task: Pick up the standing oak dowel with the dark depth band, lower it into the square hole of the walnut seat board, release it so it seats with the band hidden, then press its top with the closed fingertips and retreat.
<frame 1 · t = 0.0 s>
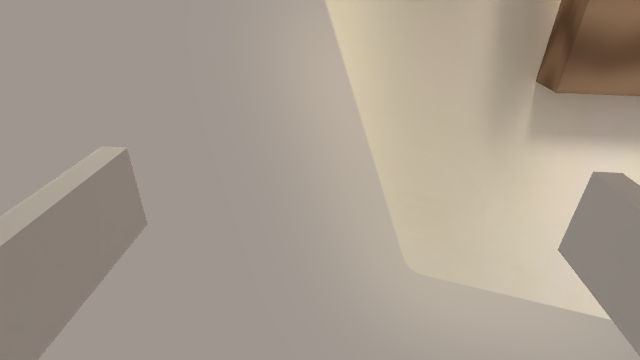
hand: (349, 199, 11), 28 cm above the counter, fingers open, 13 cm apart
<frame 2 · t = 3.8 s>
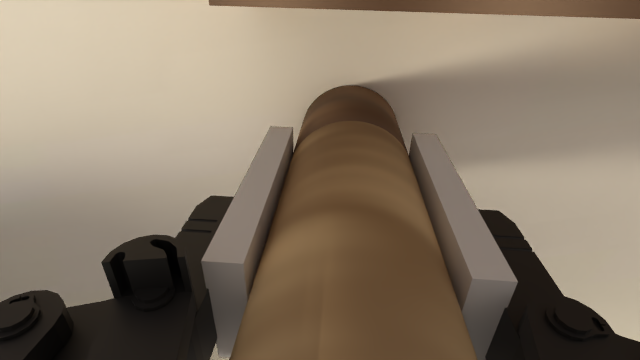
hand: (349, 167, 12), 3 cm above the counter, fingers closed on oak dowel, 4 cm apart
oak dowel: (349, 132, 15), on the counter, touching gripper
when the fingers open (5 cm above the counter, at t = 8.4 s): oak dowel drops 2 cm, resting in seat board.
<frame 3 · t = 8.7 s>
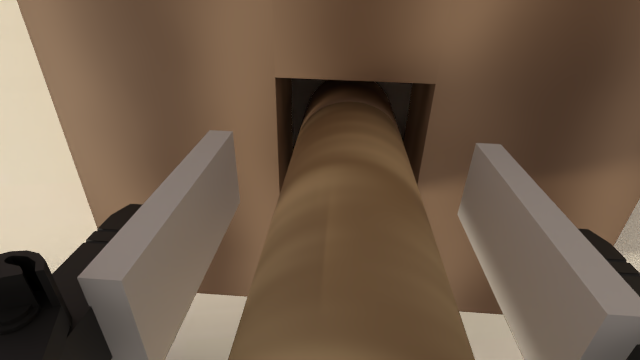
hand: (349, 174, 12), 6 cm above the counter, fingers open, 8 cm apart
seat board: (349, 116, 17), on the counter
oak dowel: (348, 117, 17), resting in seat board
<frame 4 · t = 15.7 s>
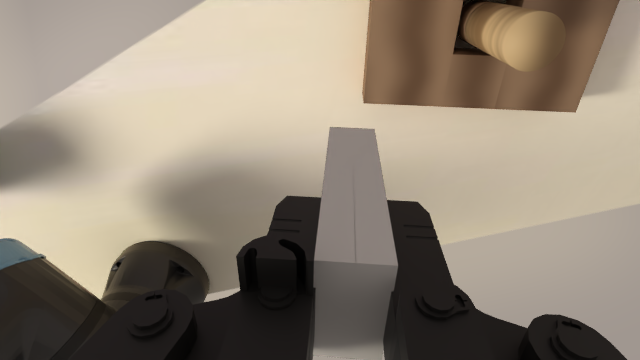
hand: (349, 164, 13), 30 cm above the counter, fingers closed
seat board: (474, 21, 37), on the counter
oak dowel: (474, 21, 37), resting in seat board
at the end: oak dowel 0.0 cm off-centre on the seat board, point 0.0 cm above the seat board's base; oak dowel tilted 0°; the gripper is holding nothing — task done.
